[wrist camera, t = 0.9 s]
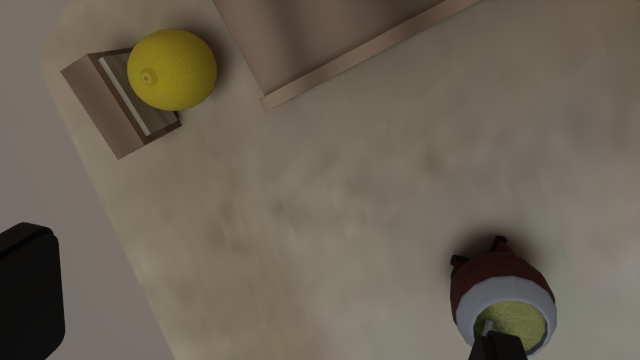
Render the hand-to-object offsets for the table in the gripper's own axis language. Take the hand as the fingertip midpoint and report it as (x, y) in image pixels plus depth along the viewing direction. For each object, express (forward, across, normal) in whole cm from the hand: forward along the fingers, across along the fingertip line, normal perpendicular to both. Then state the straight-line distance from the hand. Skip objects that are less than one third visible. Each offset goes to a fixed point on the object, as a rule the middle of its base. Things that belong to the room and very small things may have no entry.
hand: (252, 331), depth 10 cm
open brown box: (+27, +18, +3) cm, 32 cm away
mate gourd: (+28, -12, +12) cm, 33 cm away
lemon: (+27, +13, 0) cm, 30 cm away
